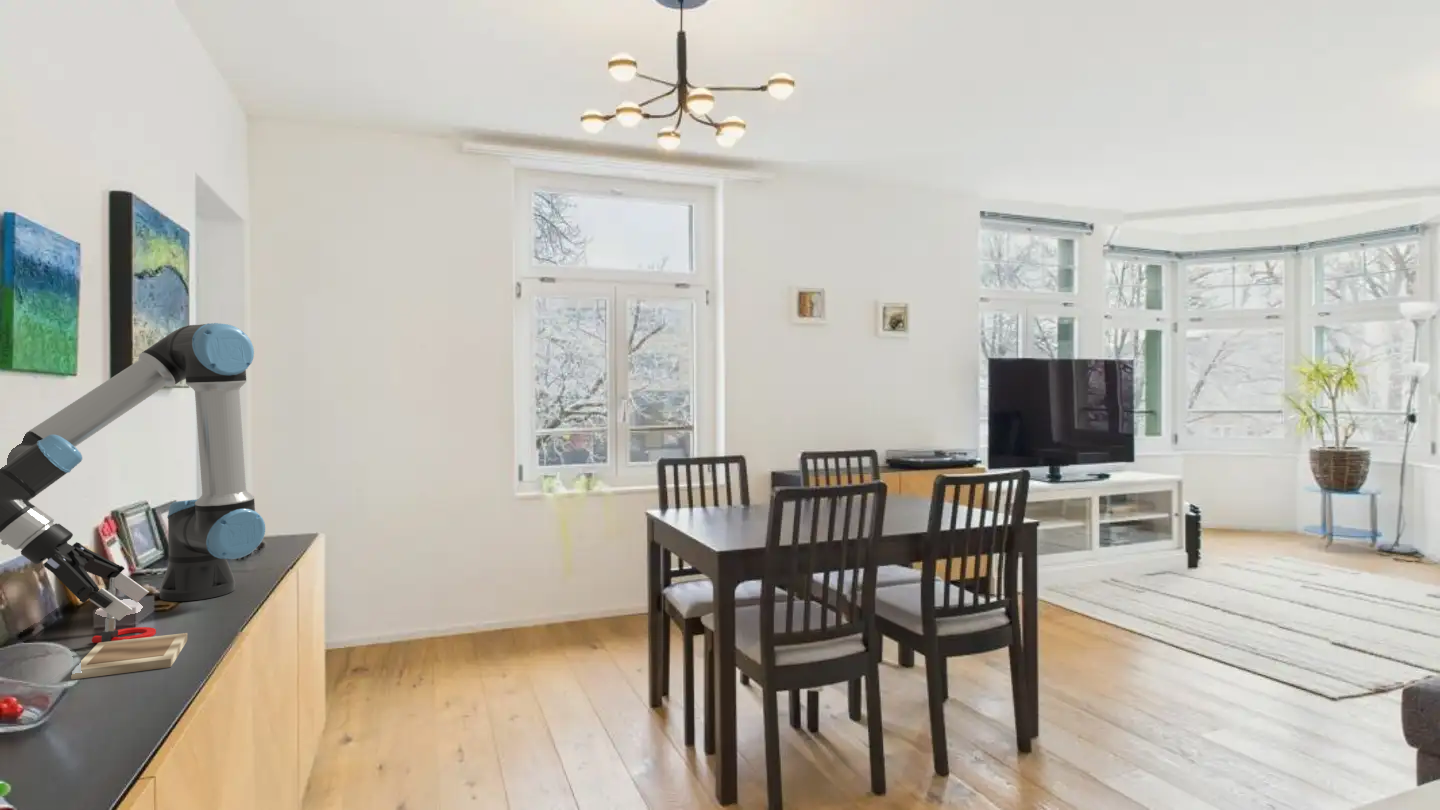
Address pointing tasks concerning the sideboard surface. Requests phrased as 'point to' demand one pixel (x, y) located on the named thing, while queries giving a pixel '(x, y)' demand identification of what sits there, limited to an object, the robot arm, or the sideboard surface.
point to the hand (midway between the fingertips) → (135, 605)
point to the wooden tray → (131, 655)
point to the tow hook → (112, 634)
